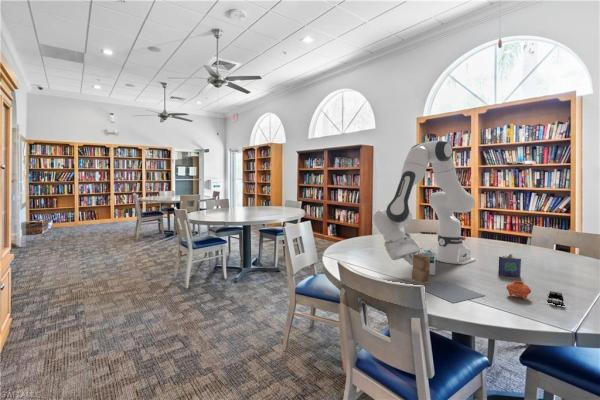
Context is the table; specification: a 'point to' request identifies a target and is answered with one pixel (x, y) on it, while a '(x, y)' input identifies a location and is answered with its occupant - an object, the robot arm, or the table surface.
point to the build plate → (555, 296)
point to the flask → (509, 266)
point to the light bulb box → (432, 259)
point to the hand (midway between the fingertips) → (413, 263)
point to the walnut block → (421, 268)
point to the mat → (451, 292)
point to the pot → (518, 289)
